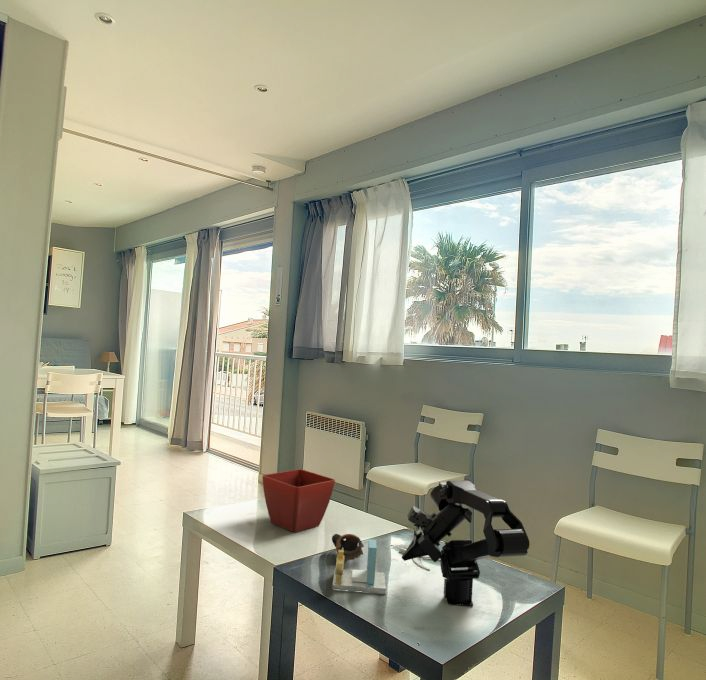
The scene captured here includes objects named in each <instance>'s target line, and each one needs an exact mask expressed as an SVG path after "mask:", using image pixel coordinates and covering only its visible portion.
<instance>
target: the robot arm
mask: <svg viewBox="0 0 706 680" xmlns="http://www.w3.org/2000/svg"><path fill="white" fill-rule="evenodd" d="M429 495H430V499H431V501H432V502H433V503H434V505H435V507H436V508H437V509H438V513H436V512H435V513H434V512H432V514H428V513H426V512H425V511H424V510H421V509H419V508H418V507H417V506H414V505H412V507H411V508H410V510H409V512H408V514H407V519H408V522H410V523H412V524H413V526H414V527H417V528H418V529H417V530H415V529H413V531H412V532H413V533H412V535H413V536H412V540H411V542H410V544H409V545H408V548H407V550H406V551H405V553H404V554H403V553H402V555H401V558H402V560H403V561H404V562H405V561H409V560H413V558H422V556H427V555H428V556H429V557H430V558H431V559H432V560H431V561H433V562H434V563H437V562H438V560H439V559H440V561H439V562H440V571H441V574H442V575H441V576H442V578H444V581H443V597H444V598H445V600H446V602H447V604H448V605H455V606H467V607H474V602H473V585H474V584H473V583H474V579H475V580H476V579H477V580H478V579H479V578H480V574H481V570H480V567H479V564H478V561H479V560H484V559H488V558H491V557H493V558H503V557H504V558H508V557H509V558H510V557H525V556H526V555H527V554H528V553H529V551H528V550H529V548H530V539H529V536H528V533H527V531H526V530H525V527H524V524H523V522H522V521H521V520H520V519H519V518H518V517H517V516H516V515H515V514H514V513H513V512H512V511H511V509H510V507H509V504H508V502H507V501H505V500H503V499H501V498H500V499H499V498H497V497H494V496H492V495H489V494H487V493H485V492H482V491H480V490H478V489H476V485H475V484H474V483H472V482H471V481H470V480H447V481H446V482H444V481H442V482H441V481H440V482H438V485H436V486H435V487H434V488H433V489H432V490H431V491H430V494H429ZM464 505H465V506H467V507H469V508H467V507H465V506H464ZM470 508H471V509H473V510H475V511H477V512H479V513H480V514H483V517H484V519H485V520H484V525H483V536H484V539H480V540H478V541H477V540H476V541H474V542H473V539H452V540H450V541H444V545H443V546H442V549H440V548H439V546H441V541H442V540H443V539H445V538H446V537H451V535H453V534H452V531H454V530H455V529H456V528H458V526H459V525H460V524H462V523H463V522H464V521H465V520H466V521H467V522H468V523H469V524H470V523H472V521H473V520H472V519H473V518H472V516H473V512H472V511H471V510H470ZM493 518H501V520H502V521H503V522H504V523H505V524H506V525H507V526H508V527H509V528H496V529H494V527H493V525H492V521H493ZM459 568H460V569H459Z"/></svg>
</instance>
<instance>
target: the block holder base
mask: <svg viewBox="0 0 706 680" xmlns="http://www.w3.org/2000/svg"><path fill="white" fill-rule="evenodd" d="M337 554H338V555H337ZM337 554H336V555H337V556H336V557H337V559H336V564H335V568H334V572H333V577H332V578H333V579H332V588H331V589H340V590H348V591H362V592H369V593H368V594H372V593H377V594H376V595H386V594H387V587H386V575H385V572H381V571H375V581H374V584H367V582H354V581H352V570H353V569H344V568H345V566H344V564H345V561H344V549H342V550H338V553H337Z"/></svg>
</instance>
